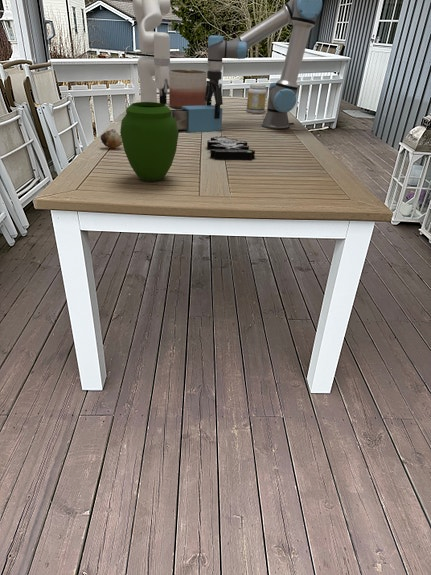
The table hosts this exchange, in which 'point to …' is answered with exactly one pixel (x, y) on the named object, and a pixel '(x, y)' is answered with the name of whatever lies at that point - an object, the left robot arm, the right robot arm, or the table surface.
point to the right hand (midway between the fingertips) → (212, 116)
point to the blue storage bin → (203, 118)
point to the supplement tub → (256, 98)
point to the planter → (187, 88)
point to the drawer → (180, 118)
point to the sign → (229, 149)
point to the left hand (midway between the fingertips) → (163, 103)
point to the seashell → (111, 139)
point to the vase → (149, 139)
